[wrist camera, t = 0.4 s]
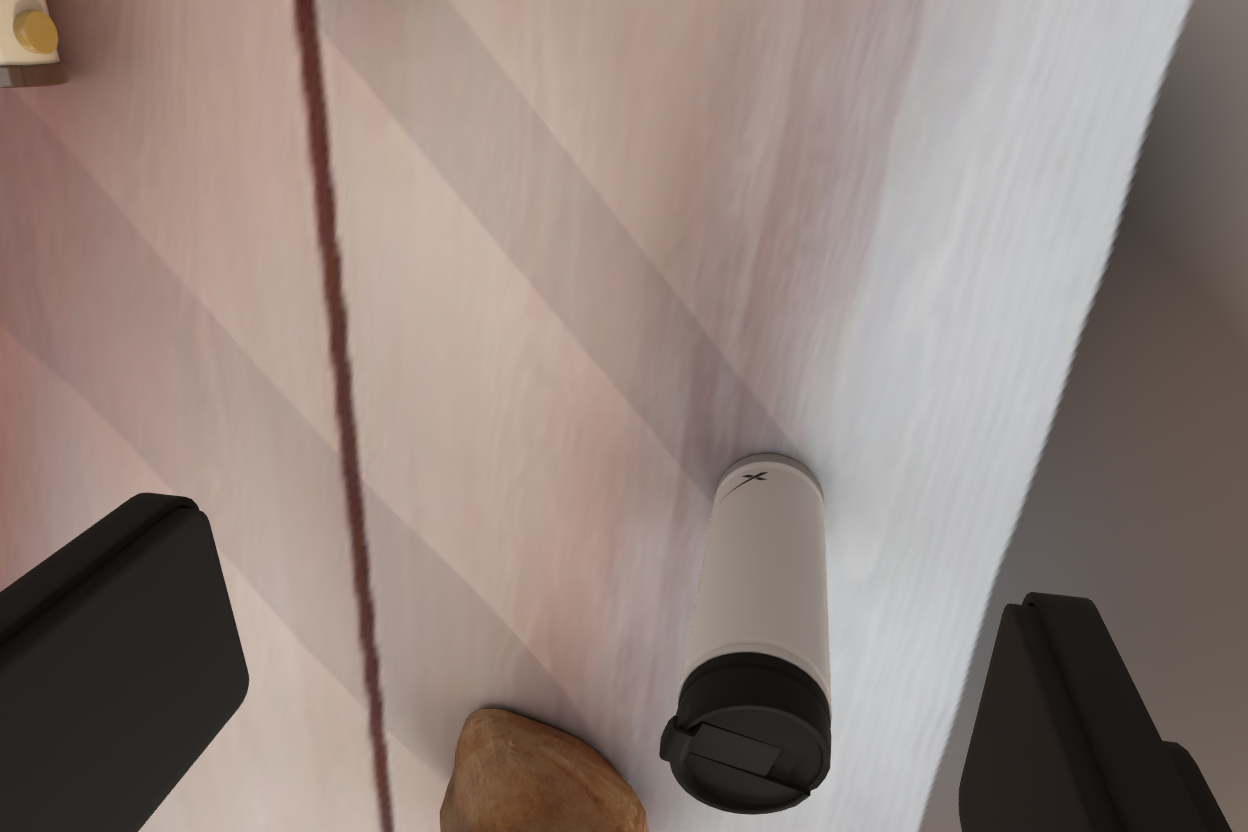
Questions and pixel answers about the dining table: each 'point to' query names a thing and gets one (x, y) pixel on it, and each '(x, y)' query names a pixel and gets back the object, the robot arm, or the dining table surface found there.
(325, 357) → the dining table surface
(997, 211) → the dining table surface
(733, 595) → the travel mug
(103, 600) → the robot arm
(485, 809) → the ceramic vessel
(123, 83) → the dining table surface
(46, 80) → the jar
